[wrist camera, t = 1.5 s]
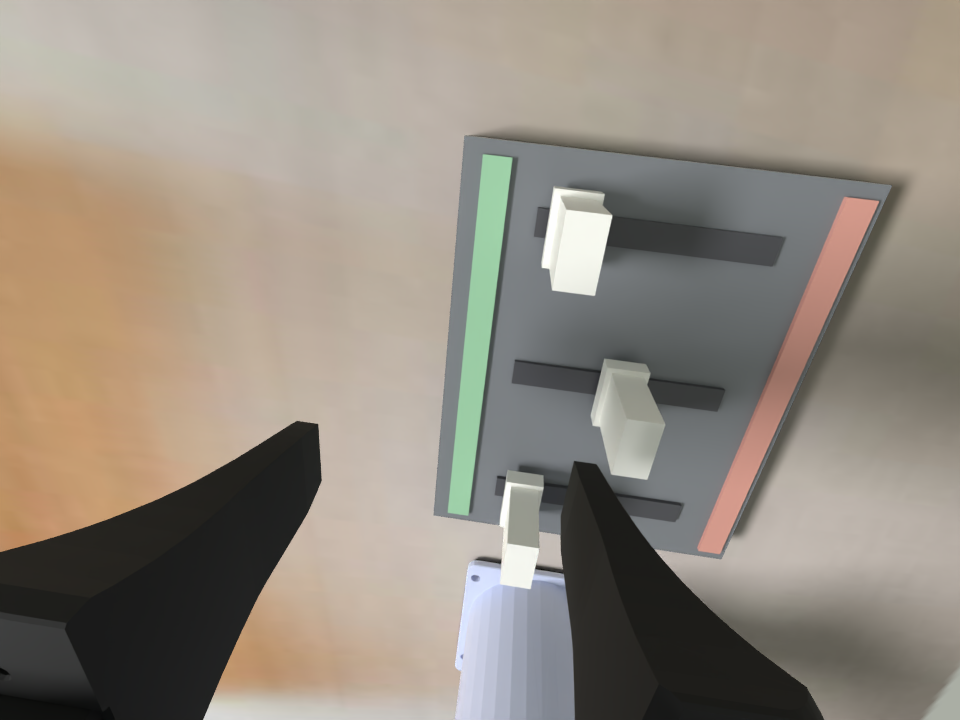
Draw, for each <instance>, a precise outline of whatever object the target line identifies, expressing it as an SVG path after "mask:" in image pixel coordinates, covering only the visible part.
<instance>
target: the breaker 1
mask: <svg viewBox="0 0 960 720" xmlns="http://www.w3.org/2000/svg"><path fill="white" fill-rule="evenodd" d="M543 489H544V480H543V475H538V474H531V473H524V472H517V471H511V470H507V477H506V483H505V489H504V495H503V501H502V507H501V513H500V525H499V527H504V535H503V549H502V563H501V577H500V584H501V585H507V586H513V587H520V588H526V589H531V585H532V580H533V575H534V571H535V566H536V562H537V557H538V553H539V508H540V503H541V498H542V493H543Z"/></svg>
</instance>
